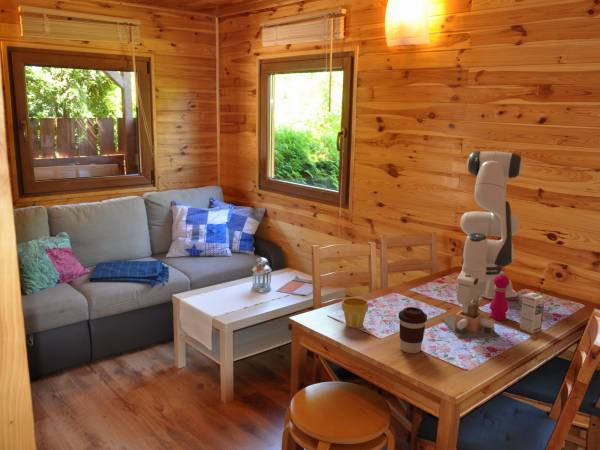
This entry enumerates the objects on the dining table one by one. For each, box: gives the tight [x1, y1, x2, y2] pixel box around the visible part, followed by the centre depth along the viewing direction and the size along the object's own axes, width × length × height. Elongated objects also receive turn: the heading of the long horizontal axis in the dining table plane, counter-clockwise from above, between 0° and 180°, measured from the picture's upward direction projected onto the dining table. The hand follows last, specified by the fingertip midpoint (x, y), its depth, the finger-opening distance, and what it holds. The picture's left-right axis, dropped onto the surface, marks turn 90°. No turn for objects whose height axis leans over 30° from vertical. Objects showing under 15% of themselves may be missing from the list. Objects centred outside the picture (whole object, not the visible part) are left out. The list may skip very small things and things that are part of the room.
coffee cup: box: [398, 306, 428, 354], centre depth 185 cm, size 10×10×15 cm
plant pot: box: [341, 297, 369, 329], centre depth 206 cm, size 10×10×10 cm
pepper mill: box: [489, 271, 510, 321], centre depth 215 cm, size 7×7×20 cm
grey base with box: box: [440, 308, 500, 339], centre depth 205 cm, size 18×16×6 cm
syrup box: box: [519, 292, 546, 334], centre depth 204 cm, size 6×6×14 cm
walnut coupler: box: [462, 301, 479, 318], centre depth 205 cm, size 4×4×9 cm
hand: (470, 308), depth 204 cm, fingers open, 8 cm apart
